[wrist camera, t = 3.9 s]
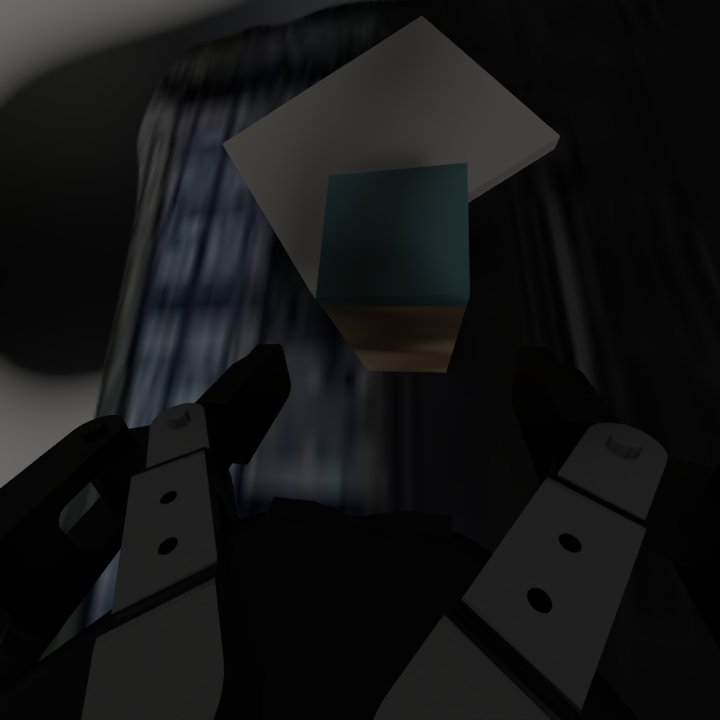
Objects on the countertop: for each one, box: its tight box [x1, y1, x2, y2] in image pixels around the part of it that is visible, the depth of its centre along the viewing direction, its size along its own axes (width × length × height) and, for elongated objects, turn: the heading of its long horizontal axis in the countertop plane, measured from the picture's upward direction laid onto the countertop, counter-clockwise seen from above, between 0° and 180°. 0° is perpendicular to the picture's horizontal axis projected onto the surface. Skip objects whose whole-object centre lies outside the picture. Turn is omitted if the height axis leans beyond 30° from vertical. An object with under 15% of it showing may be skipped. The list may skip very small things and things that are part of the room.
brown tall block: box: [316, 163, 470, 372], centre depth 16 cm, size 5×5×11 cm
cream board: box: [223, 16, 560, 298], centre depth 26 cm, size 20×17×1 cm
